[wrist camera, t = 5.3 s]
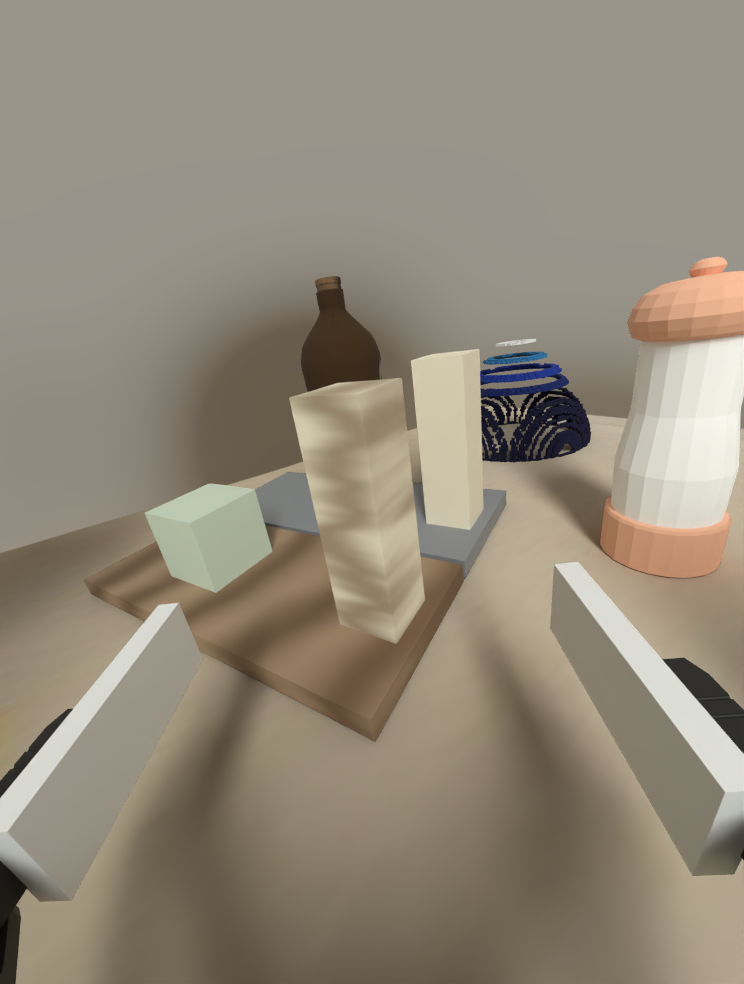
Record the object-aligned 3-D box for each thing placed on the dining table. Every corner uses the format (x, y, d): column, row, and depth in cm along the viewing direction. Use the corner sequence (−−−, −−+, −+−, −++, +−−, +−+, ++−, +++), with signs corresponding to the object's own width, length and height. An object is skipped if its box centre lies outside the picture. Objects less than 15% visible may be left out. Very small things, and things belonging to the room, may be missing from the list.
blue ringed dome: (504, 474, 46) (504, 351, 40) (425, 442, 63) (418, 353, 58) (622, 439, 51) (636, 326, 46) (520, 418, 69) (521, 335, 63)
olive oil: (334, 487, 49) (293, 274, 40) (316, 467, 59) (278, 290, 49) (405, 467, 52) (383, 265, 43) (377, 451, 62) (353, 282, 52)
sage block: (171, 576, 31) (144, 513, 29) (228, 540, 36) (209, 483, 33) (216, 592, 28) (189, 523, 26) (272, 551, 33) (254, 489, 30)
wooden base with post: (91, 593, 33) (-1, 424, 27) (212, 525, 43) (164, 390, 37) (375, 741, 18) (307, 421, 12) (463, 581, 27) (451, 363, 21)
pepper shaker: (738, 585, 24) (845, 230, 16) (605, 570, 27) (643, 266, 19) (701, 529, 30) (766, 251, 22) (595, 522, 33) (622, 276, 25)
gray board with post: (215, 523, 44) (169, 389, 38) (290, 481, 53) (263, 370, 47) (465, 577, 28) (454, 362, 22) (506, 504, 38) (506, 342, 32)
